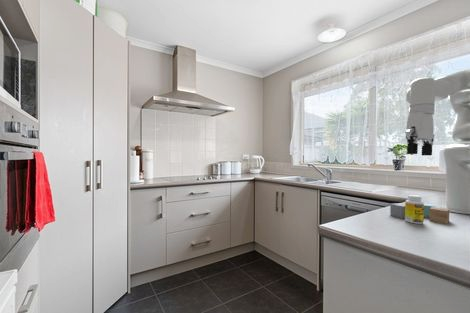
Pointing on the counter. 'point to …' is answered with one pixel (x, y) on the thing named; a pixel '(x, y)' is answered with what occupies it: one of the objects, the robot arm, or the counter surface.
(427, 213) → the teal block
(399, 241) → the counter surface
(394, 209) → the gray block
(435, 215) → the walnut block
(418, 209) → the supplement bottle
